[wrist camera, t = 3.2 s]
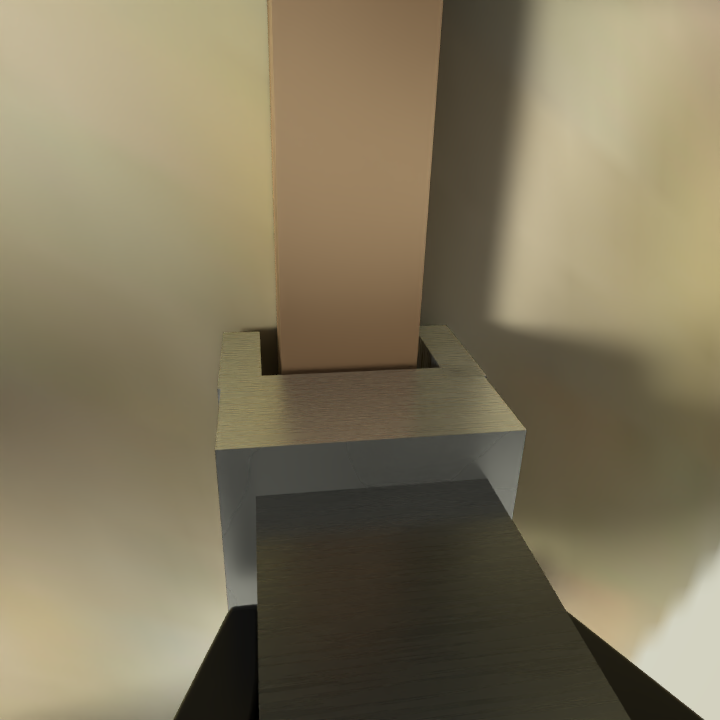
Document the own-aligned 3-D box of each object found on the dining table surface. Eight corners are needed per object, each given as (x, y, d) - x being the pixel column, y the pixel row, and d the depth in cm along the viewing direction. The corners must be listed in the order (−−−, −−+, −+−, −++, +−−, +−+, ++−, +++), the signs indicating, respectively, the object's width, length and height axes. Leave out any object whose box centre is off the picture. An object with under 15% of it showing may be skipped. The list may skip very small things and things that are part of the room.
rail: (416, 590, 16) (456, 716, 13) (245, 609, 15) (244, 746, 12) (474, -77, 10) (577, -149, 7) (197, -97, 9) (172, -187, 6)
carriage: (428, 519, 15) (607, 960, 7) (237, 536, 14) (224, 1041, 7) (445, 325, 13) (719, 668, 5) (223, 332, 12) (180, 741, 5)
